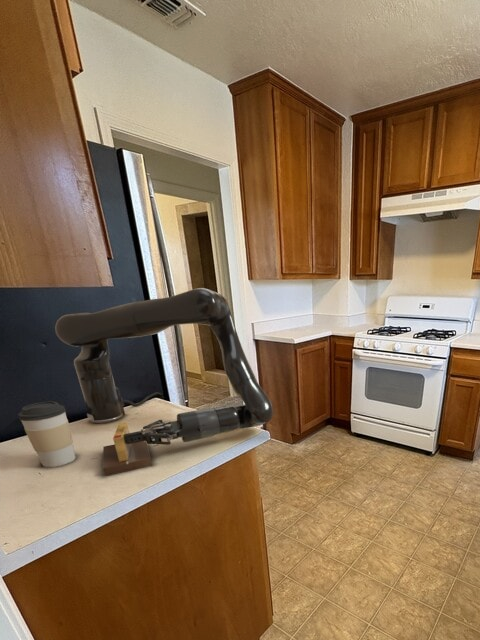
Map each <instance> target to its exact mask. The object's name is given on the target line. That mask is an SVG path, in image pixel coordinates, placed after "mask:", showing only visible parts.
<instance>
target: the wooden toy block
mask: <svg viewBox="0 0 480 640" xmlns="http://www.w3.org/2000/svg"><path fill="white" fill-rule="evenodd" d="M127 433H130V430H129V426H128V422H127V421H124V422H119V423H118V424H117V427H116V430H115V433H114V436H113V438H112V439H113V443H114V444H115V447H116V451H117V455H118V458H119V462H121V461H127V460H128V458H129V453H130V449H131V445H132V444H126V443H125V439H124V434H127ZM114 444H113V445H114Z"/></svg>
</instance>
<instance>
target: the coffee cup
mask: <svg viewBox="0 0 480 640" xmlns="http://www.w3.org/2000/svg"><path fill="white" fill-rule="evenodd" d="M66 412H67V409H66V408H65V405H62V404H59V403H58V402H57V401H41V402H35V403H31V404H28V405H25V406H23V407H22V409H21V411H20V412H18V414H17V416H18V420H20V422H21V423H22V426H23V427H24V428H23V429H24V432H25V434H26V436H27V438H28V439H29V442H30V444H31V446H32V448H33V450H34V451H35V452H36V454H37V456H38V459H39V461H40V463H41V465H42V466H43V467H45V468H54V467H56V468H57V467H61V466H65V465H67V464H69V463H72V462H73V461H75V459H76V452H75V448H74V444H73V443H74V440H73V436H72V432H71V431H72V430H71V427H70V423H69V419H68V418H67V413H66Z"/></svg>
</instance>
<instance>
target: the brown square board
mask: <svg viewBox="0 0 480 640" xmlns="http://www.w3.org/2000/svg"><path fill="white" fill-rule="evenodd" d="M159 446H160V445H159V444H153V445H152V447H159ZM102 449H103V450H102V451H103V452H102V469H103V473H104V476H105V477H107V476H111V475H116V474H120V473H126V472H128V471H134V470H137V469H141V468H147V467H151V466H153V462H152V458H151V453H150V451H149V446H148V444H147V442H143V441H141V442H136V443H132V445H131V449H130V453H129V458H128V460H127V461H121V462H119V458H118V455H117V451H116V447H115V444H110V445H104V446H103V448H102ZM96 459H98V456H96V457H95V456H94V457H90V460H96Z"/></svg>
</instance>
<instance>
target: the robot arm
mask: <svg viewBox="0 0 480 640" xmlns="http://www.w3.org/2000/svg"><path fill="white" fill-rule="evenodd" d="M230 308H231V307H230V305H229V303H228V300H227V299H226V298H225V296H223V295H222V294H220V293H218V292H216V291H214V290H211V289H208V288H205V287H198V288H194V289H190V290H188V291H184V292H181V293H177V294H175V295H172V296H168V297H162V298H161V297H160V298H152V299H151V298H150V299H146V300H139V301H134V302H128V303H125V304H120V305H116V306H112V307H109V308H105V309H103V310H99V311H96V312H92V313H91V312H77V313H68V314H64V315H62V316H61V317H60V318H58V320H57V321H56V322H55V323H56V324H55V327H54V329H55V330H54V331H55V335H56V336H57V337H58V338H59V340H61V341H62V342H63V343H64V344H66V345H69V346H71V347H78V348H79V347H81V351H80V353H78V355H77V356H76V357H75V358H74V359H73V365H74V369H75V372H76V375H77V378H78V382H79V385H80V389H81V393H82V396H83V399H84V402H85V407H86V409H87V413H86V416H87V418H88V419H89V421H90V423H92V424H108V423H112V422H115V421H118V420H120V419H122V418H124V416H126V412H125V403H126V404H129V405H130V406H132V407H138V406H140V405H142V404H144V403H146V402H147V401H148V400H149V399H151V398H153V397H154V396H163V393H161V392H158V391H156V392H153V393H151V394H148V395H147V396H146V397H144V398H143V399H142V400H140V401H138V402H135V403H134V402H133V401H132V400H129V399H123V397H121V392H120V388H118V387H116V384H115V380H114V376H113V371H112V367H111V364H110V358H111V357H110V356H111V353H110V347H109V342H108V340H111V339H114V340H115V339H116V340H117V339H128V338H129V339H130V338H141V337H146V336H152V335H156V334H159V333H161V332H164V331H165V330H168V329H169V328H171V327H173V326H179V325H180V326H181V325H190V324H191V325H204V326H209V328H210V330H211V331H212V332H213V334H214V336H215V337H216V340H217V342H218V345H219V348H220V352H221V360H222V366H223V369H224V372H225V374H226V377H227V379H228V381H229V383H230V385H231V388H232V390H233V391H234V393H235V395H236V396H238V397H240V398H241V400H242V401H243V403H244V404H241V405H235V406H234V405H224V406H219V407H213V408H202V409H196V410H191V411H185V412H179V413H177V414H176V420H172V421H171V420H166V421H163V419H158V420H156V421H154V422H151V423H149V424H147V425H144V426H142V429H140V430H138V431H133V432H129V433H127V434H124V439H125V443H126V444H132V443H136V442H141V441H143V442H147V445H159V446H160V445H161V446H162V445H163V446H165V445H166V446H168V445H171V444H172V442H171V441H174V440H176V439H181V440H182V442H183V443H188V442H189V443H190V442H193V441H198V440H202V439H206V438H211V437H215V436H216V435H220V434H225V433H229V432H233V431H236V430H241V429H248V428H249V429H250V428H255V427H259V426H262V425H264V424H267V423H269V422H270V421H271V420H272V419H273V417H274V408H273V405H272V402H271V400H270V398H269V396H268V395H267V393H266V392H265V391H264V389H263V388H262V387H261V385H260V384H259V382H258V380H257V378H256V375H255V373H254V371H253V369H252V366H251V365H250V363H249V361H248V358H247V356H246V354H245V351H244V348H243V346H242V343H241V341H240V337H239V335H238V331H237V329H236V326H235V321H234V318H233V314H232V311H231V309H230Z"/></svg>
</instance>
